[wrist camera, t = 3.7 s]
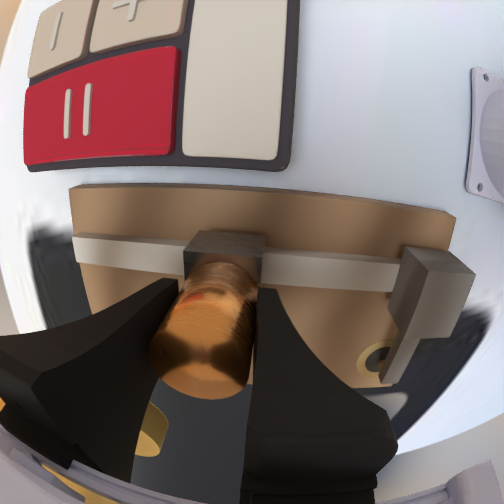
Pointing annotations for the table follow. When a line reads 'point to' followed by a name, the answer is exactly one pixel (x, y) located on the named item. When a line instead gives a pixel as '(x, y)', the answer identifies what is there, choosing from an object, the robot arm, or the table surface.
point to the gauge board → (289, 262)
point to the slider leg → (212, 317)
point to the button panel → (162, 84)
